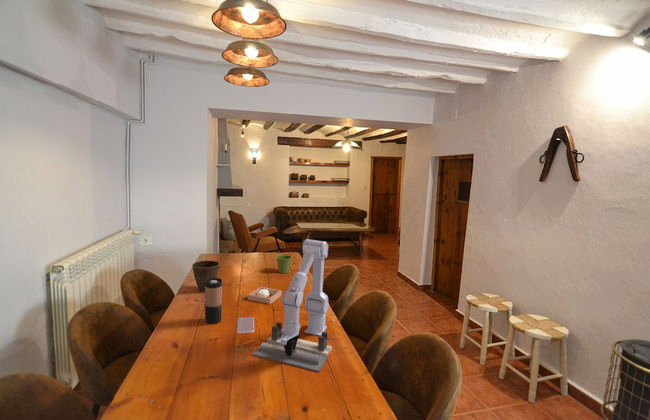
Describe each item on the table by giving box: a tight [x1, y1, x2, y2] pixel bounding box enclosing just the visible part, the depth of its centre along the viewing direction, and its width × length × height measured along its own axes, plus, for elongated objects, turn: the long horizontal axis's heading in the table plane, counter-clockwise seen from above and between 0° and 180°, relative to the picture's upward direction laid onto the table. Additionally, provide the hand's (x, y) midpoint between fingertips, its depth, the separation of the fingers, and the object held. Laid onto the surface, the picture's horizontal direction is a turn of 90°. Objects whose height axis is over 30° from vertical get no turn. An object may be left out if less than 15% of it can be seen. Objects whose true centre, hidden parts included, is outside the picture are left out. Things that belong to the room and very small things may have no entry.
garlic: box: [257, 289, 271, 298], centre depth 188 cm, size 8×7×4 cm
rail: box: [260, 341, 321, 364], centre depth 128 cm, size 2×25×2 cm, turn 72°
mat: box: [251, 341, 328, 373], centre depth 128 cm, size 10×28×1 cm, turn 72°
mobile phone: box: [236, 316, 255, 334], centre depth 152 cm, size 8×1×15 cm
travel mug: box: [204, 277, 223, 325], centre depth 153 cm, size 8×8×20 cm
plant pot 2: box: [275, 254, 293, 274], centre depth 234 cm, size 12×12×11 cm
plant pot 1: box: [192, 260, 220, 293], centre depth 192 cm, size 15×15×16 cm
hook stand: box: [266, 321, 333, 357], centre depth 136 cm, size 6×27×7 cm, turn 72°
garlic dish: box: [247, 286, 283, 305], centre depth 186 cm, size 14×14×3 cm
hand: (290, 353), depth 128 cm, fingers open, 2 cm apart
